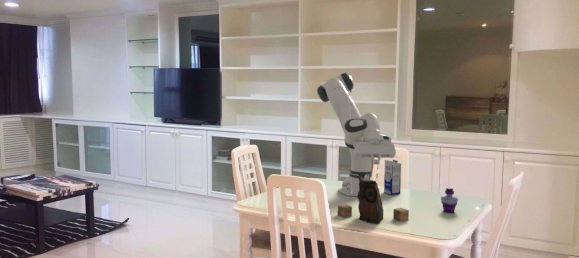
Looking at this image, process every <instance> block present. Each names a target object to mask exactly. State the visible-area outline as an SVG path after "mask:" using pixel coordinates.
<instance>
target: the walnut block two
mask: <svg viewBox="0 0 579 258" xmlns="http://www.w3.org/2000/svg"><path fill="white" fill-rule="evenodd" d="M392 214H393V218H392V219H393V220H395V221H398V222H406V221H409V219H410V218H409V217H410V209H406V208H404V207H398V208H393V213H392Z"/></svg>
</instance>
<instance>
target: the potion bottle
mask: <svg viewBox="0 0 579 258" xmlns="http://www.w3.org/2000/svg"><path fill="white" fill-rule="evenodd" d="M444 194H445V196H441V197H440V200H441V204H442V211H443V212H444V213H446V214H447V213H448V214H453V213H455V211H456V210H455V209H456V206H457V205H458V201H459V198H458V197H455V196H453V195H455V191H454V188H453V187H446V188H445V190H444Z"/></svg>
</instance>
